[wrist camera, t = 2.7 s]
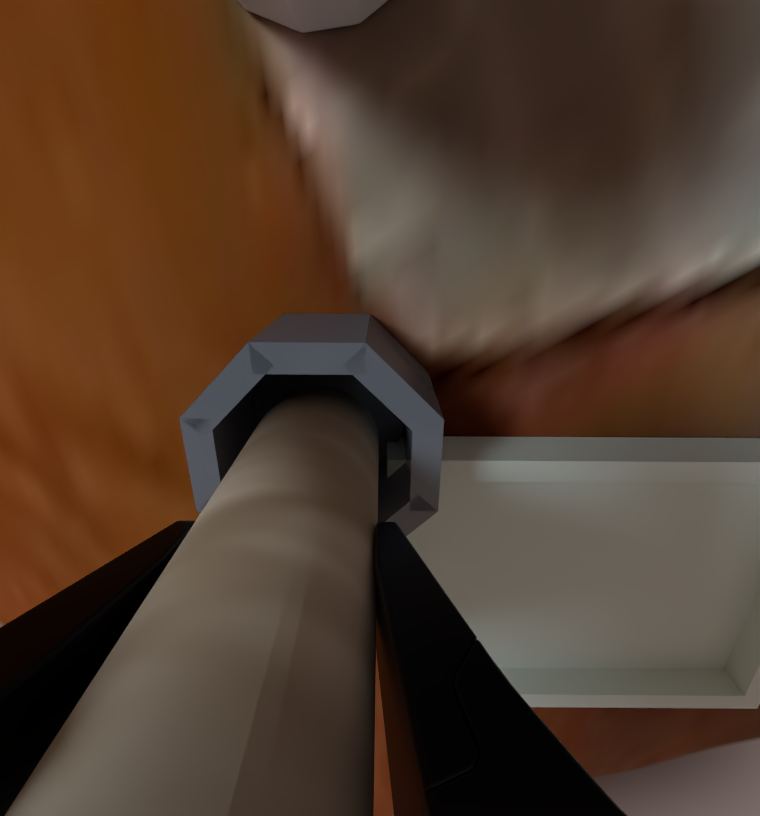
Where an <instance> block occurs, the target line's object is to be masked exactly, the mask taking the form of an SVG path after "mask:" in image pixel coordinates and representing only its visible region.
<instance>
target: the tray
mask: <svg viewBox="0 0 760 816" xmlns="http://www.w3.org/2000/svg"><path fill="white" fill-rule="evenodd" d="M405 463H406V456H405V446H404V437H403V436H401V437H400V440H399V442H387V478H388V477H389V476H390V475H392V474H393V473H394V472H395V471H396V470H397V469H399V468H400V467H401V466H402V465H403V464H405ZM406 537H407V538H408V540H409V541H410V543H411V544H412V546H413V547H414V548H415V550H416V551H417V553H418V554H419V556H420V557H421V558H422V560H423V561H424V563H425V564H426V566H427V567H428V568H429V570H430V571H431V573H432V574H433V575H434V577H435V578H436V580H437V581H438V583H439V584H440V585H441V587H442V588H443V590H444V591H445V593H446V594H447V595H448V597H449V598H450V600H451V601H452V603H453V604H454V605H455V607H456V608H457V610H458V611H459V612H460V614H461V615H462V617H463V618H464V620H465V621H466V622H467V624H468V625H469V627H470V628H471V630H472V631H473V632H474V634H475V635H476V637H477V640H479V641H480V642H481V643H482V645H483V646H484V648H485V649H486V651H487V652H488V654H489V655H490V656H491V658H492V659H493V661H494V662H495V663H496V665H497V666H498V667H499V669H500V670H501V671H502V673H503V674H504V675H505V677H506V678H507V679H508V681H509V682H510V683H511V685H512V686H513V687H514V688H515V689H516V691H517V692H518V693H519V694H520V695H521V696H522V698H523V699H524V700H525V701H526V702H527V704H528V705H529V706H530V707H591V708H730V709H757V708H758V706H759V704H760V438H648V437H469V436H443V444H442V460H441V475H440V490H439V505H438V512H437V513H435V514H434V515H433V516H432V517H430V518H429V519H428V520H427V521H425V522H424V523H423V524H421V525H420V526H419V527H418V528H416V529H415V530H414V531H413V532H411V533H410V534H409V535H407V536H406Z"/></svg>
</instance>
